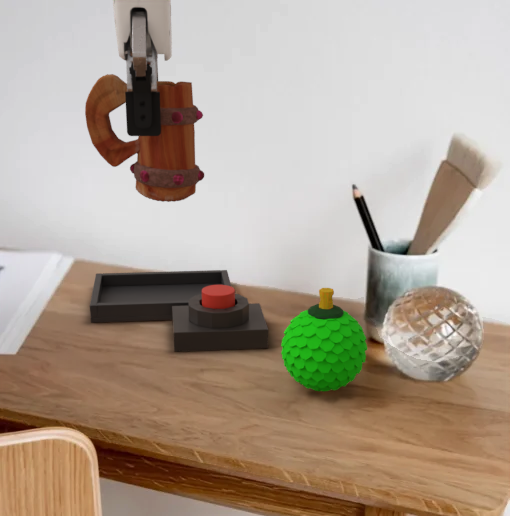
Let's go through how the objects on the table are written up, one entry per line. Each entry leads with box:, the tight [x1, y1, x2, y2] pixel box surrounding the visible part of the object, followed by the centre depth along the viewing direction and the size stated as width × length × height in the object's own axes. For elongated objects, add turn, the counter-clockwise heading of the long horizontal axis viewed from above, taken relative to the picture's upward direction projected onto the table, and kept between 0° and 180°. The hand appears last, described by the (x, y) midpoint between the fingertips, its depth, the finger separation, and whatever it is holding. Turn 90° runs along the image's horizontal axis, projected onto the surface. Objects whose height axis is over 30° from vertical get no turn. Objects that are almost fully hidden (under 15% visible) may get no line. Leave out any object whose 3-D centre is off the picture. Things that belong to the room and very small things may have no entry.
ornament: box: [280, 287, 368, 392], centre depth 79 cm, size 8×8×10 cm
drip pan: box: [89, 269, 232, 323], centre depth 102 cm, size 17×12×2 cm
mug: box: [84, 73, 205, 203], centre depth 84 cm, size 12×6×12 cm, turn 85°
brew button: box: [202, 285, 236, 309], centre depth 91 cm, size 4×4×2 cm
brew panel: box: [172, 293, 269, 353], centre depth 92 cm, size 10×8×4 cm
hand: (145, 127), depth 84 cm, fingers closed on mug, 6 cm apart
